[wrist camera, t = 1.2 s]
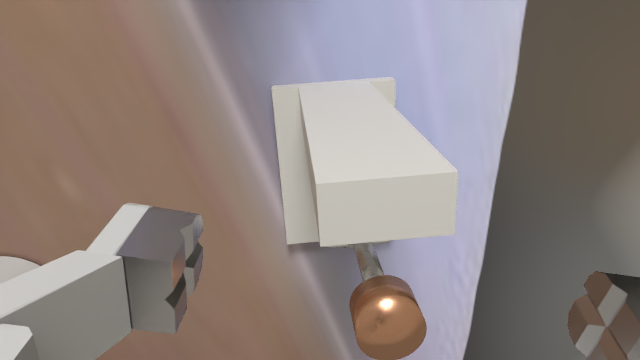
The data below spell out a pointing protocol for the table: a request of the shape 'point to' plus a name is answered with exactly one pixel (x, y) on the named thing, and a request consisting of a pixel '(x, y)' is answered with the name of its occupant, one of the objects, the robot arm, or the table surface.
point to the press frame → (357, 166)
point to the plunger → (384, 310)
